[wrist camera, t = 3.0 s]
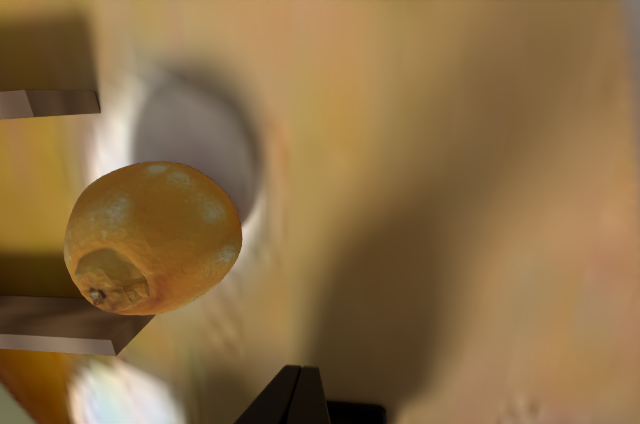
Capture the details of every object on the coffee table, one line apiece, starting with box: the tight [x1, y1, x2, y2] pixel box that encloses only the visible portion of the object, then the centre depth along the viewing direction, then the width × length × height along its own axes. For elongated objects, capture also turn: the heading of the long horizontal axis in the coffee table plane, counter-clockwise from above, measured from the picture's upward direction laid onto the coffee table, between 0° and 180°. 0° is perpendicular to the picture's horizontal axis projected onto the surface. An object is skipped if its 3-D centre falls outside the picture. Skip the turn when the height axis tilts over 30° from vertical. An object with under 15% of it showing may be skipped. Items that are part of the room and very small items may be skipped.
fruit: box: [64, 162, 242, 315], centre depth 17 cm, size 8×8×8 cm
